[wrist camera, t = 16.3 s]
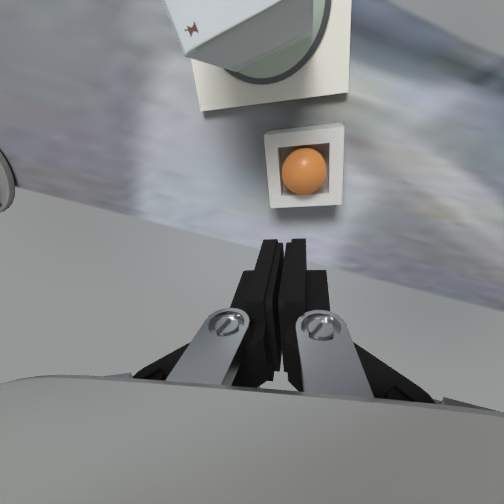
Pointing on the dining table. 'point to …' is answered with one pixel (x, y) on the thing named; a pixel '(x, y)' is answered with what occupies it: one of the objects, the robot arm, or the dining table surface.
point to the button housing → (318, 136)
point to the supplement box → (238, 28)
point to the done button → (304, 170)
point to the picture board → (286, 66)
